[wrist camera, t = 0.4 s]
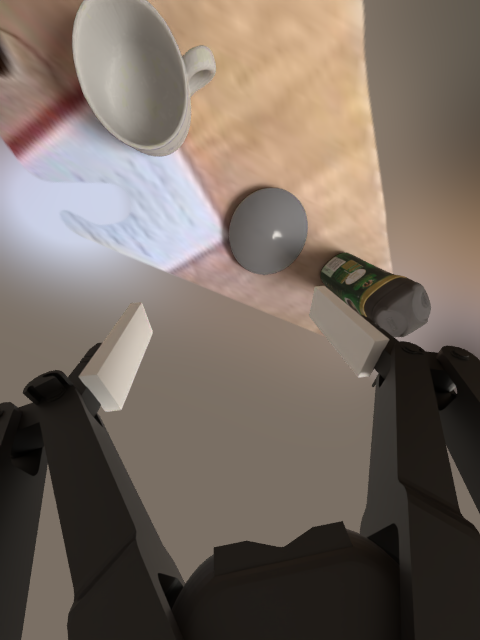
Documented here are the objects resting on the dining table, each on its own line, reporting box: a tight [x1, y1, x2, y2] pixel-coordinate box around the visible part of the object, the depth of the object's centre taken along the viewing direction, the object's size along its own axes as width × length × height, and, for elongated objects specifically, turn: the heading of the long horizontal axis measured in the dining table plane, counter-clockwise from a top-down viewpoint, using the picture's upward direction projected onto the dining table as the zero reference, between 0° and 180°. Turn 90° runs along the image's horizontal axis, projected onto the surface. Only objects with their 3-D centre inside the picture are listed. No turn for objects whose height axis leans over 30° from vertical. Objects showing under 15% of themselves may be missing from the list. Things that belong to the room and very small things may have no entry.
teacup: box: [72, 0, 216, 156], centre depth 22 cm, size 14×11×8 cm
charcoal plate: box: [229, 188, 308, 275], centre depth 36 cm, size 15×15×2 cm
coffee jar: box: [321, 253, 431, 337], centre depth 35 cm, size 10×8×19 cm
